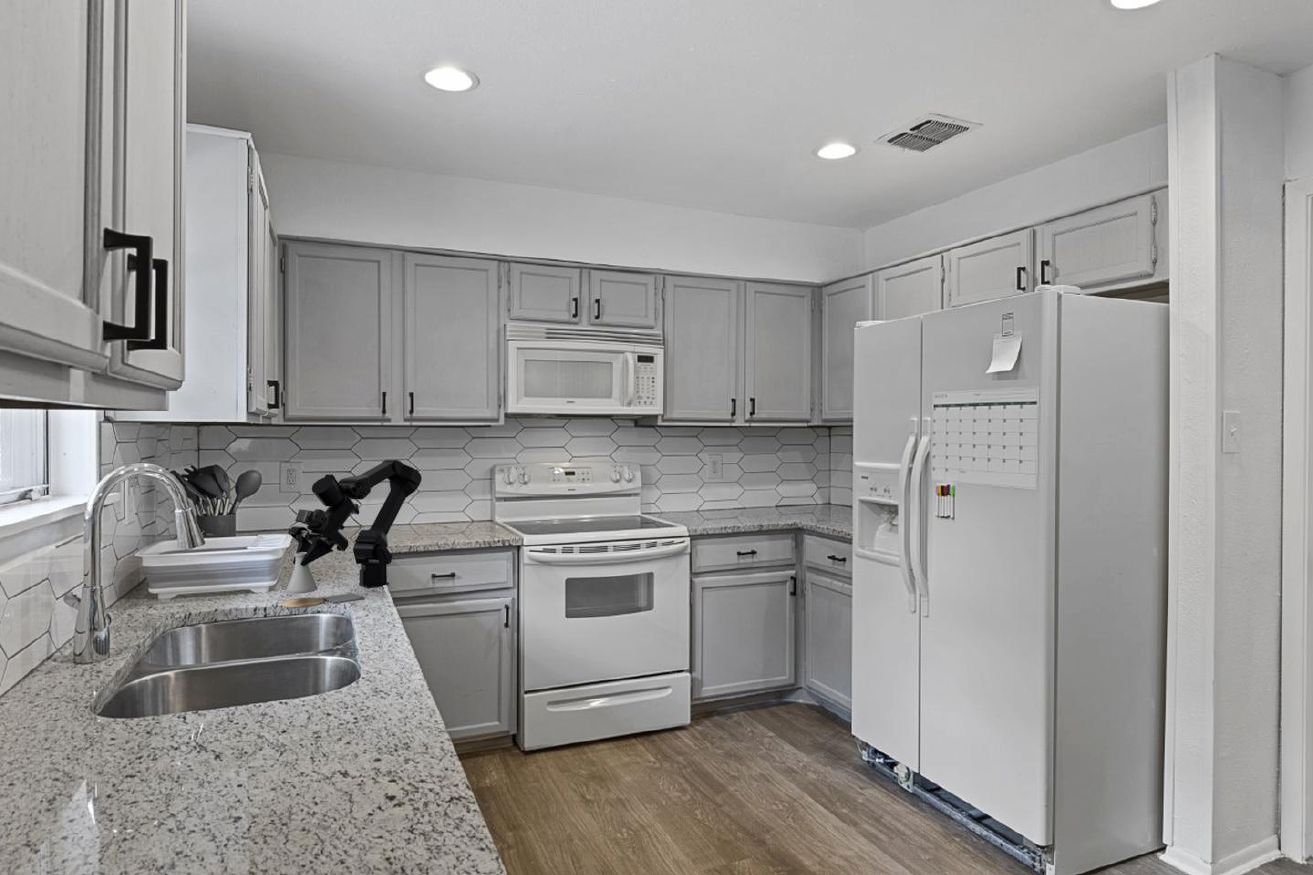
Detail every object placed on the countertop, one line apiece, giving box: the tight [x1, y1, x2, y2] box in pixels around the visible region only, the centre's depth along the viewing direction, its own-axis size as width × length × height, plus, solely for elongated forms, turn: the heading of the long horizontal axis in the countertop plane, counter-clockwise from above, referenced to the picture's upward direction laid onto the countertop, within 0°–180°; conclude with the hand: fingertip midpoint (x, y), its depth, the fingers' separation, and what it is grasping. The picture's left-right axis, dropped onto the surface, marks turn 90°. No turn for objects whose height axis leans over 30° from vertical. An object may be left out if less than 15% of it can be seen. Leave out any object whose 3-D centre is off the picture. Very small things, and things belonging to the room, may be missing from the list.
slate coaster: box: [322, 592, 366, 605], centre depth 207 cm, size 8×8×1 cm
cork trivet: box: [280, 596, 325, 608], centre depth 202 cm, size 10×10×1 cm
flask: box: [285, 552, 319, 595], centre depth 202 cm, size 7×7×10 cm
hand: (297, 564), depth 201 cm, fingers closed on flask, 3 cm apart
